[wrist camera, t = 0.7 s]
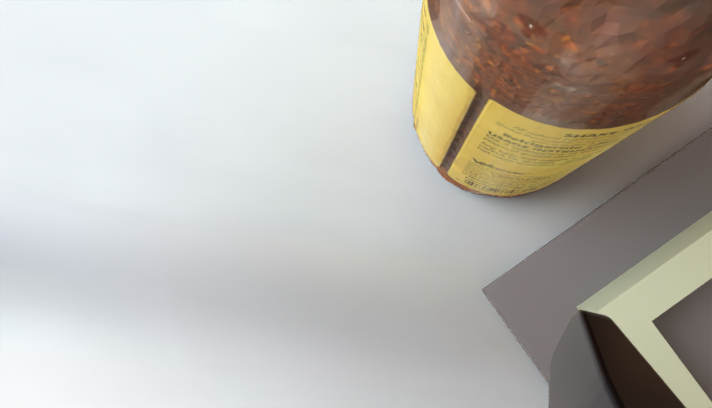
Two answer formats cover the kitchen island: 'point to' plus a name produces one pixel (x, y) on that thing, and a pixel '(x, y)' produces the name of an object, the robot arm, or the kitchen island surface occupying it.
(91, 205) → the kitchen island surface
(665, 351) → the bottle collar
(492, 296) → the rubber mat
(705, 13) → the sauce bottle
